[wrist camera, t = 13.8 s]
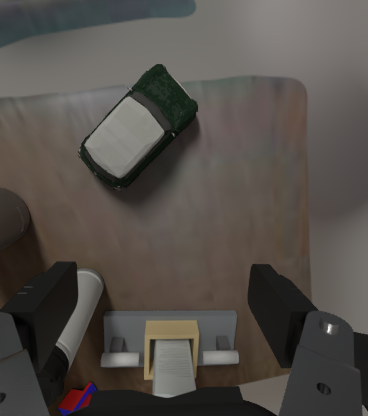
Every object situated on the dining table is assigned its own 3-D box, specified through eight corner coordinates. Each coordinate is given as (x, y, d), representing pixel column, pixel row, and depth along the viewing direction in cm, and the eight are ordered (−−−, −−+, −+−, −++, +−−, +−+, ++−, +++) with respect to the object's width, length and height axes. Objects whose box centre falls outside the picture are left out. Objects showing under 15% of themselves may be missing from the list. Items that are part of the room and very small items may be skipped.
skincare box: (153, 350, 46) (150, 418, 35) (156, 330, 45) (153, 393, 34) (186, 351, 47) (193, 419, 35) (189, 332, 46) (197, 395, 34)
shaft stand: (106, 361, 48) (98, 391, 42) (105, 311, 45) (96, 336, 39) (229, 358, 50) (238, 387, 44) (234, 310, 47) (245, 334, 41)
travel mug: (108, 298, 45) (65, 413, 25) (70, 300, 44) (-3, 420, 25) (104, 266, 43) (55, 363, 24) (65, 268, 43) (-17, 369, 23)
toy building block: (77, 380, 50) (44, 424, 43) (92, 382, 48) (59, 429, 42) (85, 392, 51) (54, 438, 44) (100, 395, 49) (69, 443, 42)
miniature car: (201, 111, 39) (210, 102, 31) (121, 193, 41) (111, 203, 33) (159, 64, 37) (158, 42, 29) (78, 152, 39) (56, 154, 31)
